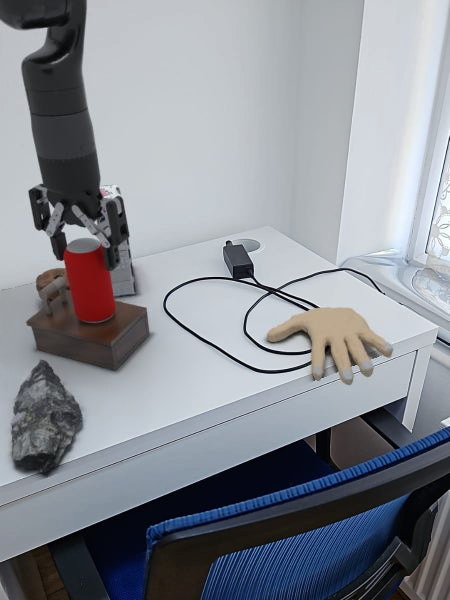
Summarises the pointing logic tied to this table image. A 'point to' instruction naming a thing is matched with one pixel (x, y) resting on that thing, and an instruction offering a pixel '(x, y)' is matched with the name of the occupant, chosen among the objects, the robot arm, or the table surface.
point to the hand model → (335, 339)
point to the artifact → (51, 280)
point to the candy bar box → (124, 271)
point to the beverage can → (89, 280)
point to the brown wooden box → (94, 345)
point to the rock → (43, 419)
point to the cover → (65, 321)
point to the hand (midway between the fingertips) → (87, 263)
